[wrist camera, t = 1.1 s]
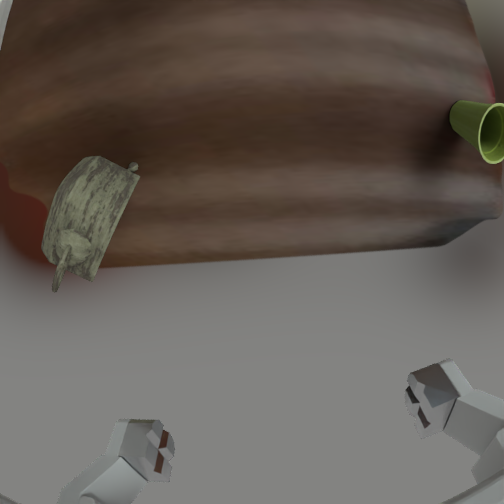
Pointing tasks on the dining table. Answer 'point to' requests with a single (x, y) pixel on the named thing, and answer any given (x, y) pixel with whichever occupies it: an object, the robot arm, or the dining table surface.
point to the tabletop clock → (86, 216)
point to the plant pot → (481, 127)
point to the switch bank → (4, 16)
